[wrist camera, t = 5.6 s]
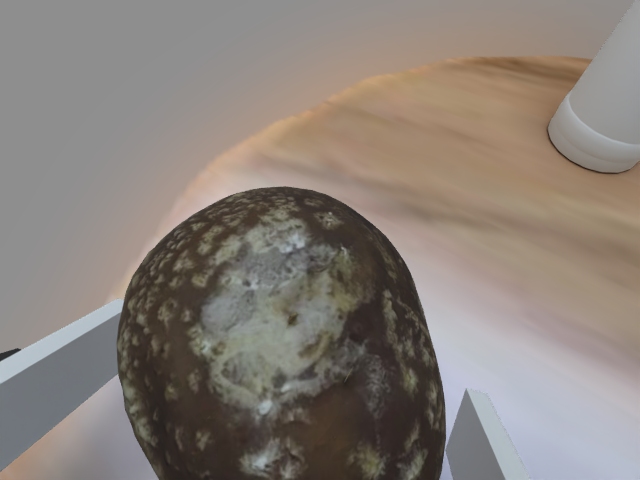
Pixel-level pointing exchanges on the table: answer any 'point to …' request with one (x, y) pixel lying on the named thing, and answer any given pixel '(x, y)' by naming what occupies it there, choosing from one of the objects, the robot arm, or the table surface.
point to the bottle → (605, 105)
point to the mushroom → (280, 348)
